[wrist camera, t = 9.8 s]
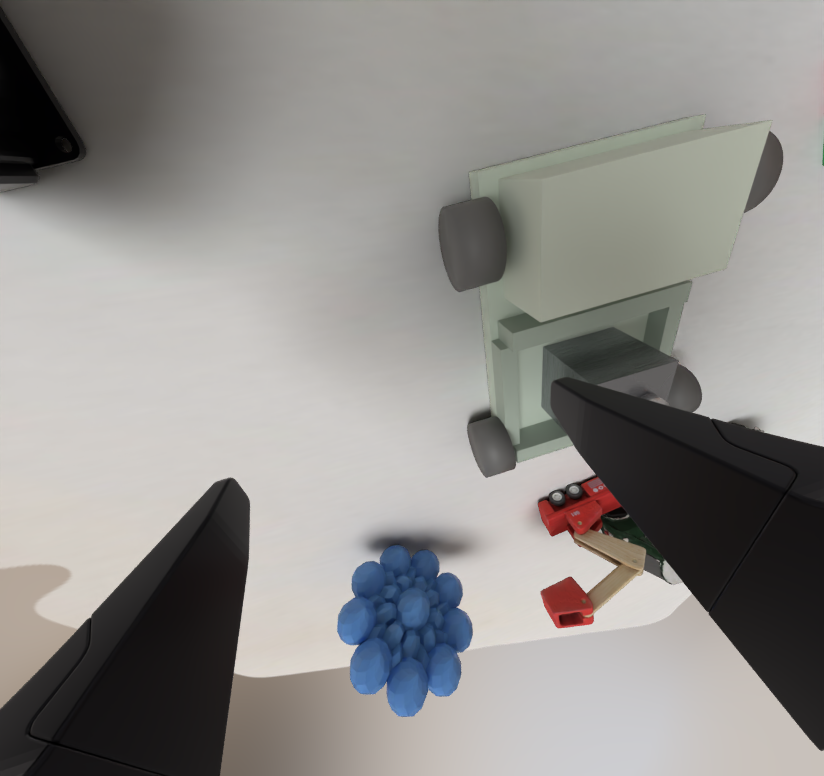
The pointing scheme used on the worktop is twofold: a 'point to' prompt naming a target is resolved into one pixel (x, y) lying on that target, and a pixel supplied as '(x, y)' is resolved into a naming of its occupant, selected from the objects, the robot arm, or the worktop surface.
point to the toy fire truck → (583, 523)
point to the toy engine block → (609, 366)
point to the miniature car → (640, 540)
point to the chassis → (596, 256)
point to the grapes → (405, 628)
